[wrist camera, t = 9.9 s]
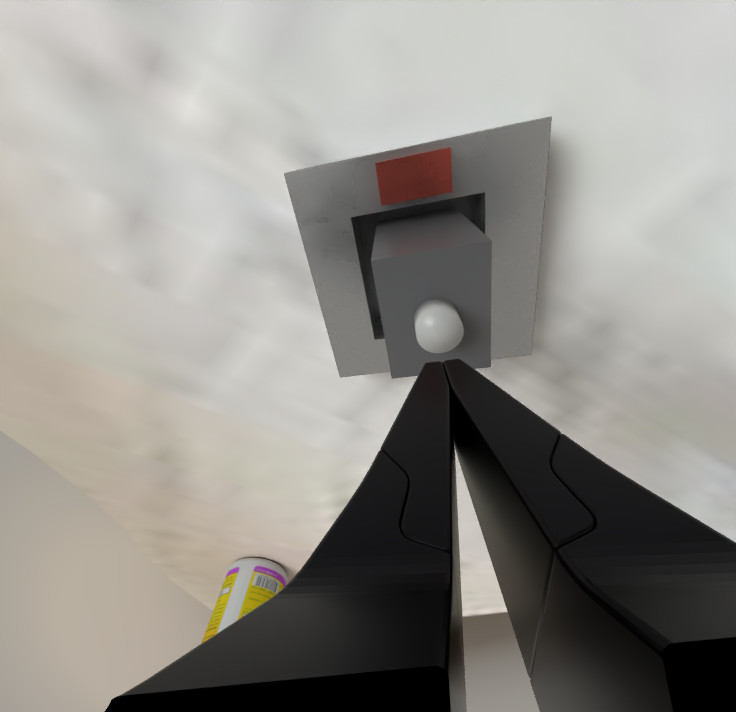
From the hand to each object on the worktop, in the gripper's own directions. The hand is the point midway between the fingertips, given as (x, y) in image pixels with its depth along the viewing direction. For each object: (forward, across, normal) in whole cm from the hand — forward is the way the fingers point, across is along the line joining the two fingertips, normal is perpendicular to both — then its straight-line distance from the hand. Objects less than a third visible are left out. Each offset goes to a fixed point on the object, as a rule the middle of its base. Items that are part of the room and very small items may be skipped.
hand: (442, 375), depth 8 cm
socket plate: (+12, 0, +1) cm, 12 cm away
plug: (+12, 0, +1) cm, 12 cm away
